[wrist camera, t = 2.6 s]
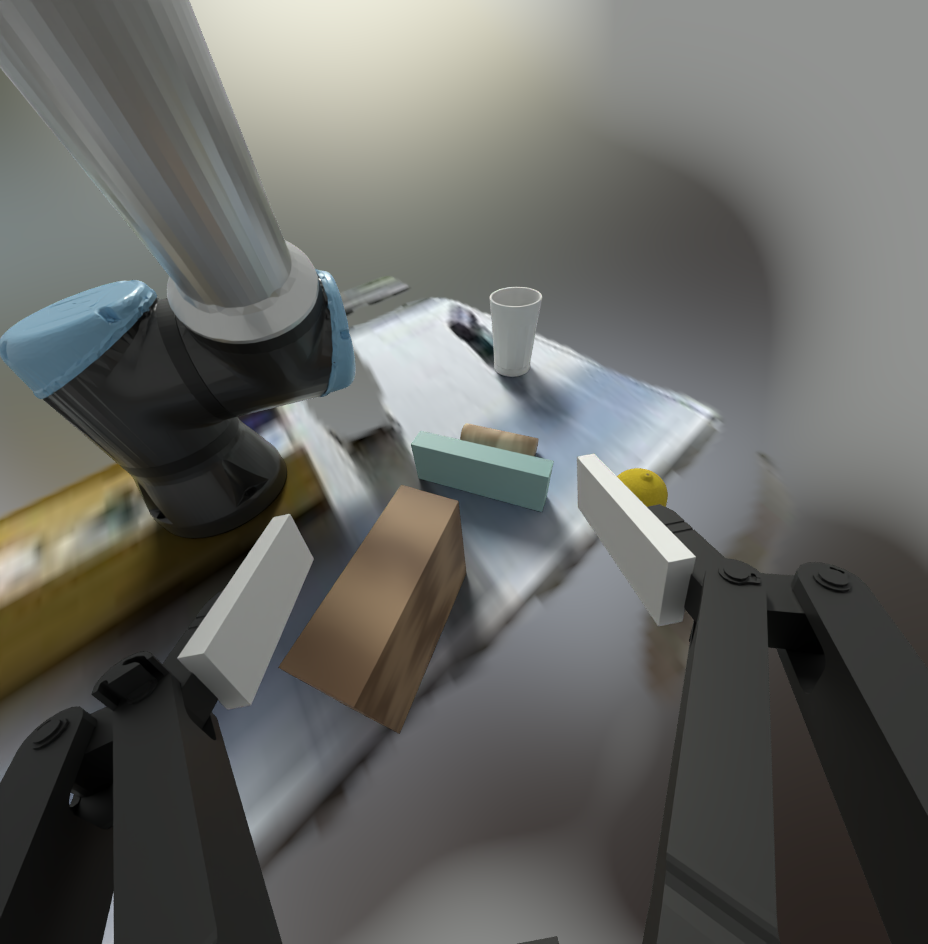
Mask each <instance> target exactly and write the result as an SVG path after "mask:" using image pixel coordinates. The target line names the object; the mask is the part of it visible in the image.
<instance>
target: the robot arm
mask: <svg viewBox="0 0 928 944" xmlns="http://www.w3.org/2000/svg"><path fill="white" fill-rule="evenodd" d="M0 68H1V69H2V71H3V72H4V73H5V74H6V75H7V77H8V78H9V79H10V80H11V82H12V83H13V84H14V85H15V86H16V88H17V89H18V90H19V91H20V92H21V94H22V95H23V96H24V98H25V99H26V100H27V101H28V102H29V104H30V105H31V106H32V107H33V109H34V110H35V111H36V112H37V113H38V115H39V116H40V117H41V119H42V120H43V121H44V122H45V123H46V125H47V126H48V127H49V128H50V130H51V131H52V132H53V133H54V135H55V136H56V137H57V138H58V139H59V141H60V142H61V143H62V144H63V146H64V147H65V148H66V149H67V151H68V152H69V153H70V154H71V155H72V157H73V158H74V159H75V160H76V162H77V163H78V164H79V165H80V166H81V168H82V169H83V170H84V171H85V173H86V174H87V175H88V176H89V178H90V179H91V180H92V181H93V182H94V184H95V185H96V186H97V187H98V189H99V190H100V191H101V192H102V194H103V195H104V196H105V197H106V199H107V200H108V201H109V202H110V203H111V205H112V206H113V207H114V208H115V210H116V211H117V212H118V213H119V215H120V216H121V217H122V218H123V219H124V221H125V222H126V223H127V224H128V225H129V227H130V228H131V229H132V231H133V232H134V233H135V234H136V235H137V237H138V238H139V239H140V240H141V242H142V243H143V244H144V245H145V246H146V248H147V249H148V250H149V251H150V253H151V254H152V255H153V256H154V258H155V259H156V260H157V261H158V263H159V264H160V265H161V266H162V267H163V269H164V270H165V271H166V272H167V274H168V275H169V279H168V283H167V298H166V299H158V298H157V294H156V293H155V291H154V290H153V289H150V288H149V287H148V286H147V285H146V284H145V283H143V282H141V281H138V280H131V281H119V282H114V283H110V284H106V285H102V286H99V287H96V288H93V289H90V290H87V291H84V292H81V293H79V294H76V295H73V296H71V297H68V298H65V299H63V300H61V301H58V302H56V303H54V304H52V305H49V306H47V307H45V308H43V309H41V310H39V311H37V312H36V313H33V314H31V315H30V316H28V317H26V318H24V319H23V320H21V321H19V322H18V323H16V324H15V325H14V326H12V327H11V328H10V329H9V330H7V331H6V332H5V333H4V334H3V336H2V337H1V339H0V356H1V358H2V360H3V361H4V362H5V363H6V365H7V366H9V368H10V369H12V370H13V372H15V374H16V375H17V376H18V377H19V378H20V379H21V380H22V381H23V382H24V383H25V384H26V385H27V386H28V387H29V388H30V389H31V390H32V391H33V393H34V395H35V396H36V397H37V398H39V399H43V400H44V401H45V402H47V403H48V404H49V405H50V406H51V407H52V408H54V409H55V410H56V411H57V412H58V413H59V414H60V415H62V416H63V417H64V418H65V419H66V420H68V421H69V422H70V423H71V424H72V425H73V426H74V427H76V428H77V429H78V430H79V431H80V432H82V433H83V434H84V435H85V436H86V437H87V438H88V439H90V440H91V441H92V442H93V443H94V444H95V445H97V446H98V447H99V448H100V449H101V450H103V451H104V452H105V453H106V454H107V455H108V456H109V457H111V458H112V459H113V460H114V461H115V462H116V463H118V464H119V465H120V466H121V467H122V468H124V469H125V470H126V471H127V472H128V473H129V474H130V475H131V476H132V477H133V479H134V481H135V483H136V485H137V487H138V489H139V491H140V493H141V495H142V497H143V499H144V501H145V504H146V506H147V508H148V510H149V512H150V514H151V515H152V517H153V518H154V519H155V520H156V521H157V522H158V523H159V524H160V525H162V526H163V527H164V528H165V529H167V530H168V531H169V532H171V533H172V534H174V535H177V536H180V537H185V538H202V537H209V536H213V535H217V534H221V533H224V532H227V531H229V530H232V529H234V528H236V527H238V526H240V525H242V524H244V523H246V522H247V521H249V520H251V519H252V518H254V517H255V516H257V515H258V514H259V513H260V512H262V511H263V510H264V509H265V508H266V507H267V506H268V505H269V504H270V503H271V502H272V501H273V500H274V499H275V498H276V497H277V495H278V494H279V492H280V491H281V489H282V487H283V485H284V483H285V480H286V476H287V468H286V464H285V462H284V460H283V458H282V457H281V455H280V454H279V452H278V451H277V449H276V448H275V447H274V446H273V445H272V444H271V443H269V442H268V441H266V440H265V439H264V438H263V437H261V436H260V435H259V434H257V433H256V432H255V431H253V430H252V429H251V428H249V427H248V426H246V425H245V424H244V423H242V422H241V421H240V420H239V418H238V416H242V415H246V414H250V413H254V412H258V411H262V410H266V409H270V408H274V407H278V406H282V405H287V404H291V403H295V402H299V401H303V400H307V399H311V398H315V397H324V396H326V395H328V394H329V393H330V392H334V391H337V390H340V389H343V388H346V387H348V386H349V385H350V384H351V383H352V382H353V380H354V378H355V358H354V351H353V345H352V340H351V337H350V334H349V328H348V323H347V317H346V313H345V310H344V306H343V302H342V299H341V296H340V293H339V290H338V288H337V285H336V282H335V281H334V279H333V277H332V276H331V274H330V273H328V272H326V271H319V270H317V269H315V268H314V266H313V264H312V263H311V261H310V260H309V258H308V257H307V256H306V254H304V253H303V252H302V251H301V250H300V249H298V248H297V247H296V246H294V245H293V244H291V243H289V242H287V241H285V240H284V238H283V235H282V233H281V230H280V228H279V225H278V222H277V220H276V217H275V215H274V212H273V210H272V207H271V205H270V202H269V200H268V197H267V195H266V192H265V190H264V187H263V185H262V182H261V180H260V177H259V175H258V172H257V170H256V167H255V165H254V162H253V160H252V157H251V155H250V152H249V150H248V147H247V145H246V142H245V140H244V137H243V134H242V132H241V129H240V127H239V124H238V122H237V119H236V117H235V114H234V112H233V109H232V107H231V104H230V102H229V99H228V97H227V95H226V92H225V89H224V87H223V84H222V82H221V80H220V77H219V74H218V72H217V69H216V67H215V64H214V62H213V59H212V57H211V54H210V52H209V49H208V47H207V44H206V42H205V39H204V37H203V34H202V31H201V29H200V27H199V24H198V22H197V19H196V16H195V14H194V11H193V9H192V6H191V4H190V2H189V0H0ZM577 482H578V508H579V509H580V511H581V512H582V514H583V515H584V517H585V518H586V520H587V521H588V523H589V524H590V526H591V527H592V529H593V530H594V532H595V533H596V535H597V536H598V537H599V539H600V540H601V542H602V543H603V545H604V546H605V548H606V549H607V551H608V552H609V554H610V555H611V557H612V558H613V560H614V561H615V563H616V564H617V566H618V567H619V569H620V570H621V572H622V573H623V575H624V576H625V578H626V579H627V580H628V582H629V583H630V585H631V586H632V588H633V589H634V591H635V592H636V594H637V595H638V597H639V598H640V600H641V601H642V603H643V604H644V606H645V607H646V609H647V610H648V612H649V613H650V615H651V616H652V618H653V619H654V621H655V622H656V624H657V625H658V626H662V625H667V624H672V623H677V622H682V621H683V616H684V611H685V609H686V611H687V612H688V613H689V614H690V616H691V617H692V618H693V619H694V622H693V626H692V630H691V634H690V639H689V642H690V646H689V652H688V659H687V665H686V672H685V678H684V685H683V691H682V698H681V704H680V711H679V717H678V724H677V731H676V737H675V743H674V750H673V756H672V763H671V770H670V776H669V783H668V789H667V795H666V802H665V808H664V815H663V821H662V828H661V835H660V841H659V848H658V854H657V861H656V868H655V874H654V880H653V887H652V894H651V899H650V905H649V910H648V914H647V919H646V925H645V930H644V936H643V942H642V944H781V943H780V940H779V935H778V930H777V917H776V885H775V857H774V856H775V855H774V854H775V853H774V822H773V794H772V793H773V791H772V758H771V729H770V728H771V727H770V695H769V665H768V664H769V663H768V647H770V648H776V649H777V651H778V654H779V657H780V659H781V662H782V664H783V667H784V670H785V672H786V675H787V677H788V680H789V682H790V685H791V688H792V690H793V693H794V695H795V698H796V700H797V703H798V705H799V708H800V711H801V713H802V716H803V718H804V721H805V723H806V726H807V728H808V731H809V734H810V736H811V739H812V741H813V744H814V747H815V749H816V752H817V754H818V757H819V759H820V762H821V765H822V767H823V770H824V772H825V775H826V777H827V780H828V782H829V785H830V788H831V790H832V792H833V795H834V798H835V800H836V803H837V805H838V808H839V811H840V813H841V816H842V818H843V821H844V823H845V826H846V829H847V831H848V834H849V836H850V839H851V842H852V844H853V846H854V849H855V852H856V854H857V857H858V859H859V862H860V865H861V867H862V870H863V872H864V875H865V877H866V880H867V883H868V885H869V888H870V890H871V893H872V895H873V898H874V900H875V903H876V906H877V908H878V911H879V913H880V916H881V919H882V921H883V924H884V926H885V929H886V931H887V934H888V937H889V939H890V941H891V944H928V668H927V667H926V665H925V664H924V663H923V661H922V660H921V659H920V657H919V656H918V655H917V653H916V652H915V650H914V649H913V648H912V646H911V645H910V644H909V642H908V641H907V640H906V638H905V637H904V635H903V634H902V633H901V631H900V630H899V628H897V626H896V625H895V623H894V622H893V620H892V619H891V618H890V616H889V615H888V613H887V612H886V611H885V609H884V608H883V607H882V605H881V604H880V603H879V601H878V600H877V599H876V597H875V596H874V594H873V593H872V592H871V590H870V589H869V588H868V586H867V585H866V584H865V583H864V582H863V581H862V580H861V579H860V578H859V577H857V576H856V575H854V574H852V573H850V572H849V571H847V570H845V569H842V568H839V567H837V566H834V565H830V564H825V563H818V562H817V563H815V562H814V563H811V562H809V563H805V564H802V565H800V567H799V568H798V569H797V571H796V573H795V575H778V574H764V573H760V572H759V571H758V570H757V569H755V568H753V567H752V566H750V565H748V564H747V563H744V562H741V561H738V560H734V559H727V558H725V557H724V556H722V555H721V554H720V553H719V552H718V551H717V550H716V549H715V548H714V547H713V546H712V545H710V544H709V543H708V542H707V541H706V540H705V539H704V538H703V537H702V536H701V535H700V534H698V533H697V532H696V531H695V530H693V529H692V527H691V526H690V525H688V524H687V523H686V522H684V520H683V519H682V518H681V517H680V516H679V515H678V514H677V513H676V512H674V511H673V510H670V509H669V508H667V507H665V506H662V505H660V504H658V505H653V506H648V507H646V506H645V505H644V504H643V503H642V502H641V501H640V500H639V499H638V498H637V497H636V496H635V495H634V494H633V493H632V492H631V491H630V490H629V489H628V488H627V487H626V486H625V485H624V483H623V482H622V481H621V480H620V479H619V478H618V477H617V476H616V475H615V474H614V473H613V472H612V471H611V470H610V469H609V468H608V467H607V466H606V465H605V464H604V463H603V462H602V461H601V460H600V459H599V458H598V457H597V456H596V455H595V454H589V455H584V456H579V457H577ZM313 560H314V558H313V556H312V555H311V553H310V551H309V549H308V547H307V545H306V543H305V541H304V539H303V538H302V536H301V534H300V532H299V530H298V528H297V526H296V524H295V522H294V521H293V519H292V517H291V515H290V514H287V515H282V516H277V517H273V519H272V520H271V521H270V523H269V524H268V526H267V527H266V529H265V530H264V532H263V533H262V535H261V536H260V538H259V539H258V541H257V542H256V543H255V545H254V546H253V548H252V549H251V551H250V552H249V554H248V555H247V557H246V558H245V560H244V561H243V562H242V564H241V565H240V567H239V568H238V570H237V571H236V573H235V574H234V576H233V577H232V579H231V580H230V582H229V583H228V584H227V586H226V587H225V589H224V590H223V591H221V592H218V593H217V594H216V595H215V596H213V597H212V598H211V599H210V600H209V601H208V602H207V603H206V604H205V605H204V606H203V608H202V609H201V611H200V612H199V613H198V615H197V616H196V619H195V620H193V622H192V623H191V625H190V626H189V627H188V628H189V629H188V630H187V631H186V632H185V633H184V634H183V636H182V637H181V639H180V640H179V641H178V643H177V644H176V646H175V647H174V649H173V650H172V651H171V653H170V654H169V656H168V657H167V658H166V660H165V661H164V663H163V664H161V663H160V662H159V661H158V660H157V659H156V658H155V657H154V656H153V655H152V654H151V653H150V652H144V651H143V652H139V653H136V654H133V655H131V656H129V657H127V658H125V659H123V660H121V661H120V662H119V663H117V664H116V665H114V666H113V667H112V668H110V669H109V670H108V671H107V672H106V673H105V674H104V675H103V676H102V677H101V678H100V680H99V681H98V682H97V684H96V685H95V686H94V689H93V691H92V694H91V695H93V696H94V697H95V698H97V699H98V700H99V701H101V702H102V703H103V704H104V705H106V706H107V707H105V708H103V709H101V710H98V711H96V712H94V713H92V714H89V713H88V712H86V711H85V710H84V709H82V708H81V707H71V708H68V709H66V710H63V711H61V712H59V713H57V714H56V715H54V716H53V717H51V718H49V719H48V720H46V721H45V722H43V724H41V725H40V726H39V727H37V728H36V729H35V730H34V731H33V732H32V733H31V734H30V735H29V736H28V737H27V738H26V740H25V741H24V742H23V743H22V745H21V746H20V748H19V749H18V751H17V752H16V754H15V756H14V758H13V760H12V762H11V764H10V766H9V768H8V769H7V771H6V773H5V775H4V777H3V779H2V781H1V783H0V944H102V940H103V936H104V931H105V927H106V922H107V918H108V914H109V909H110V905H111V900H112V896H113V891H114V944H282V941H281V938H280V934H279V931H278V927H277V924H276V920H275V917H274V913H273V910H272V906H271V903H270V899H269V896H268V892H267V889H266V886H265V882H264V879H263V875H262V872H261V868H260V865H259V861H258V858H257V855H256V851H255V848H254V844H253V841H252V837H251V834H250V830H249V827H248V824H247V820H246V817H245V813H244V810H243V806H242V803H241V799H240V796H239V792H238V789H237V786H236V782H235V779H234V775H233V772H232V768H231V765H230V761H229V758H228V755H227V751H226V748H225V744H224V741H223V737H222V734H221V730H220V727H219V723H218V720H217V718H216V716H215V715H214V714H213V713H212V710H213V708H214V706H215V704H216V702H217V700H218V701H219V702H220V703H221V704H222V705H223V706H224V707H225V708H226V709H227V710H229V709H234V708H239V707H244V706H250V705H251V704H252V702H253V700H254V697H255V695H256V693H257V690H258V688H259V686H260V683H261V681H262V679H263V676H264V674H265V672H266V669H267V667H268V665H269V662H270V660H271V658H272V655H273V653H274V651H275V648H276V646H277V644H278V641H279V639H280V637H281V634H282V632H283V630H284V627H285V625H286V623H287V620H288V618H289V616H290V613H291V611H292V609H293V606H294V604H295V602H296V599H297V597H298V595H299V592H300V590H301V588H302V585H303V583H304V581H305V578H306V576H307V574H308V571H309V569H310V567H311V564H312V562H313ZM70 793H73V794H74V796H73V799H72V802H71V804H70V805H69V798H70ZM519 944H559V943H558V938H557V936H556V937H551V938H545V939H540V940H535V941H530V942H524V943H519Z"/></svg>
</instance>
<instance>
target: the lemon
mask: <svg viewBox="0 0 928 944" xmlns="http://www.w3.org/2000/svg"><path fill="white" fill-rule="evenodd" d="M617 477H618V478H619V479H620V480H621V481H622V482H623V483H624V485H625V486H626V487H627V488H628V489H629V490H630V491H631V492H632V493H633V494H634V495H635V496H636V497H637V498H638V499H639V500H640V501H641V502H642V503H643V504H644V505H645V506H646V507H648V506H653V505H658V504H660V505H662V506H665V507H666V503H667V497H668V493H667V488H666V485H665V483H664V482H663V480H662V479H661V478H660V477H659V476H658V475H657V474H655V473H654V472H652V471H649V470H646V469H641V468H635V469H629V470H626V471H624V472H622V473H621V474H619V475H618V476H617Z"/></svg>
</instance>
